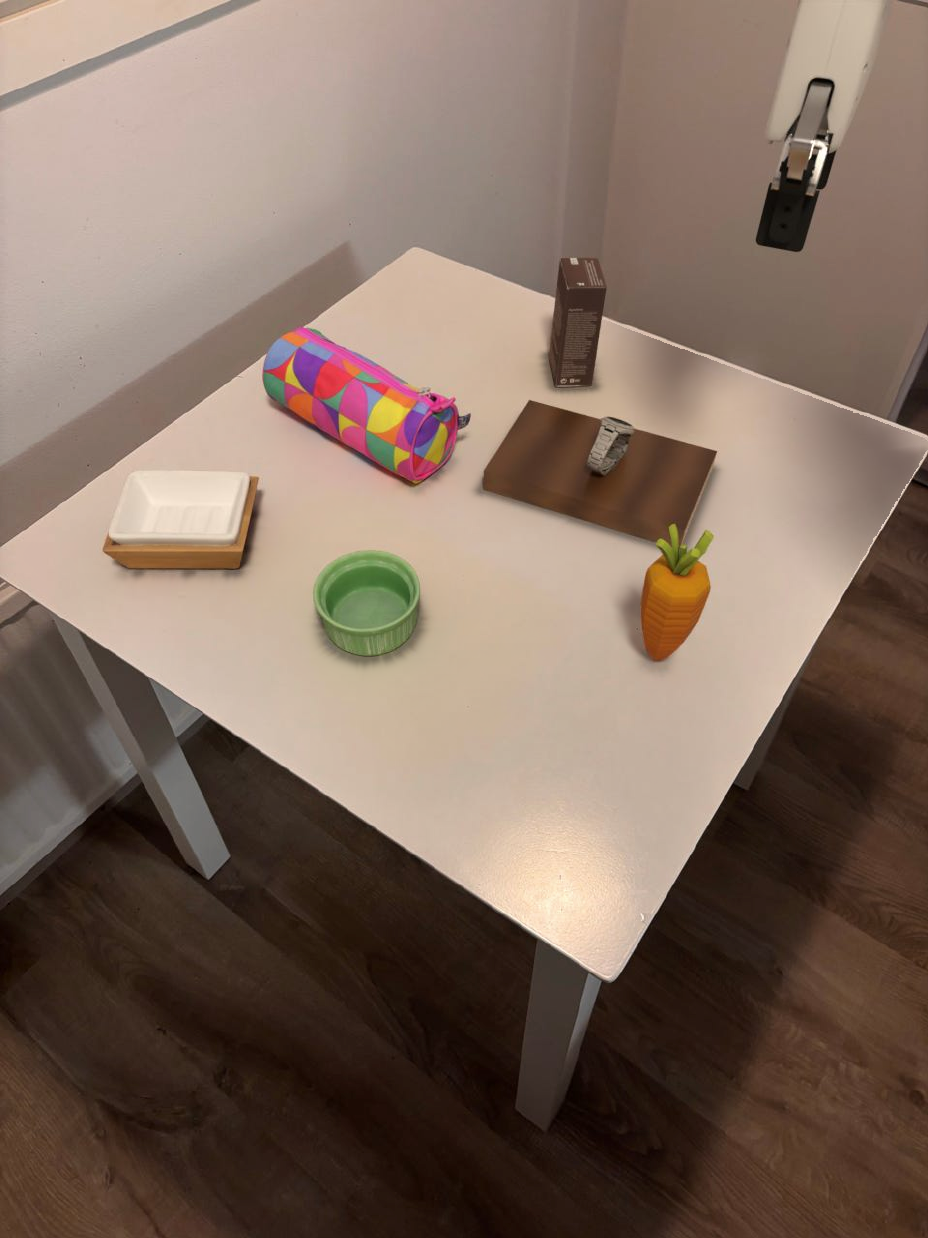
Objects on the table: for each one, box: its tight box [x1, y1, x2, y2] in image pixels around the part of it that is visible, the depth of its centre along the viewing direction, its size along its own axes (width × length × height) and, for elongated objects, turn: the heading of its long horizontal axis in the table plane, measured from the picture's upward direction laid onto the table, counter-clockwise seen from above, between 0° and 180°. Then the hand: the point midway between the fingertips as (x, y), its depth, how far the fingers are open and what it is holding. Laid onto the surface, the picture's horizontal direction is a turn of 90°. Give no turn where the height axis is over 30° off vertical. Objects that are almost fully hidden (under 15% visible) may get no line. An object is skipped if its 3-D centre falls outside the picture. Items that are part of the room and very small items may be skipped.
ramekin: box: [312, 549, 421, 657], centre depth 77 cm, size 9×9×4 cm
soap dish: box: [102, 469, 260, 570], centre depth 83 cm, size 12×10×5 cm
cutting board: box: [483, 399, 718, 550], centre depth 89 cm, size 20×12×2 cm, turn 66°
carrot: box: [640, 524, 714, 661], centre depth 70 cm, size 5×5×15 cm
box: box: [548, 257, 608, 388], centre depth 96 cm, size 6×4×12 cm
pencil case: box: [261, 326, 472, 484], centre depth 91 cm, size 22×9×9 cm, turn 53°
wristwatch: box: [587, 416, 635, 475], centre depth 85 cm, size 4×6×5 cm, turn 145°
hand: (791, 214), depth 64 cm, fingers open, 9 cm apart
